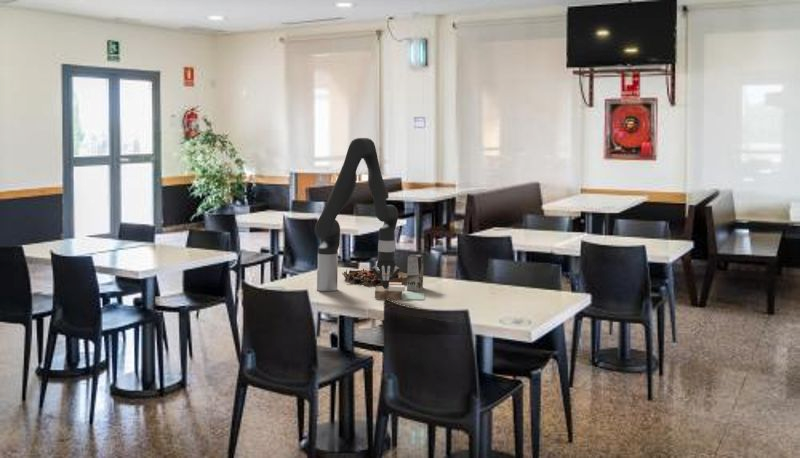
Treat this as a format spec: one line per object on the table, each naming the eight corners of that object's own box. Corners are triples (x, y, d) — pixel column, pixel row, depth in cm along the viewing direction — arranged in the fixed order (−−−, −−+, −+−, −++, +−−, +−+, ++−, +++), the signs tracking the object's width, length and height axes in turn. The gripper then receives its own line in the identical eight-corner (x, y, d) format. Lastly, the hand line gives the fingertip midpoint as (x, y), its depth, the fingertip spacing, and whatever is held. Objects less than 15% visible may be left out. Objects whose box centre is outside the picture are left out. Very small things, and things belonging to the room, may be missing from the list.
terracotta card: (386, 288, 377) (386, 283, 376) (386, 286, 381) (386, 282, 380) (401, 288, 377) (401, 284, 376) (401, 286, 381) (401, 282, 380)
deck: (374, 298, 370) (375, 291, 369) (376, 293, 382) (376, 285, 382) (401, 299, 370) (402, 291, 369) (402, 293, 382) (402, 286, 382)
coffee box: (420, 291, 390) (420, 257, 388) (406, 290, 391) (407, 256, 389) (423, 287, 398) (424, 254, 397) (410, 286, 400) (410, 253, 398)
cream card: (388, 291, 370) (388, 286, 370) (389, 289, 374) (389, 285, 374) (404, 291, 370) (404, 287, 370) (404, 289, 374) (404, 285, 374)
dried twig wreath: (328, 283, 413) (328, 267, 412) (373, 276, 438) (373, 261, 437) (380, 290, 390) (380, 274, 389) (424, 282, 415) (425, 267, 414)
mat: (402, 299, 369) (402, 298, 369) (402, 293, 383) (402, 292, 383) (424, 300, 369) (424, 299, 369) (423, 294, 383) (423, 293, 383)
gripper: (371, 251, 366) (370, 289, 368) (401, 251, 366) (400, 290, 368) (372, 248, 374) (371, 286, 376) (401, 249, 373) (400, 287, 375)
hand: (385, 288), depth 372 cm, fingers closed
